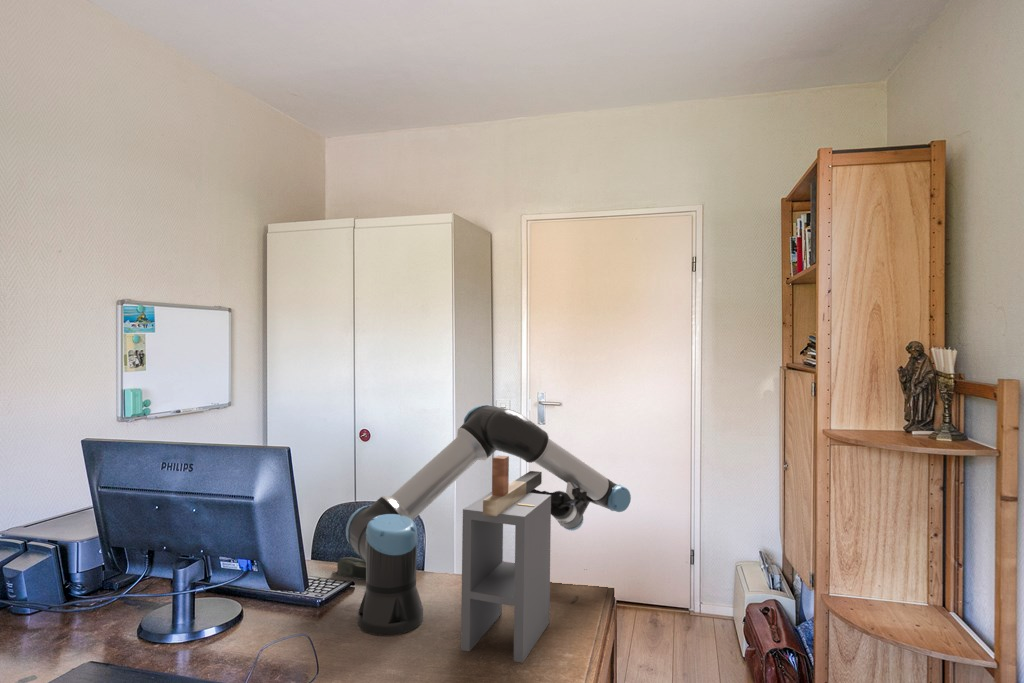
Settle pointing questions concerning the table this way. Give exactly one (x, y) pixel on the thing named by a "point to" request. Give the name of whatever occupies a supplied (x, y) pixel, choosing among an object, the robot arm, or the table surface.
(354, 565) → the mobile phone
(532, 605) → the shelf
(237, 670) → the table surface
